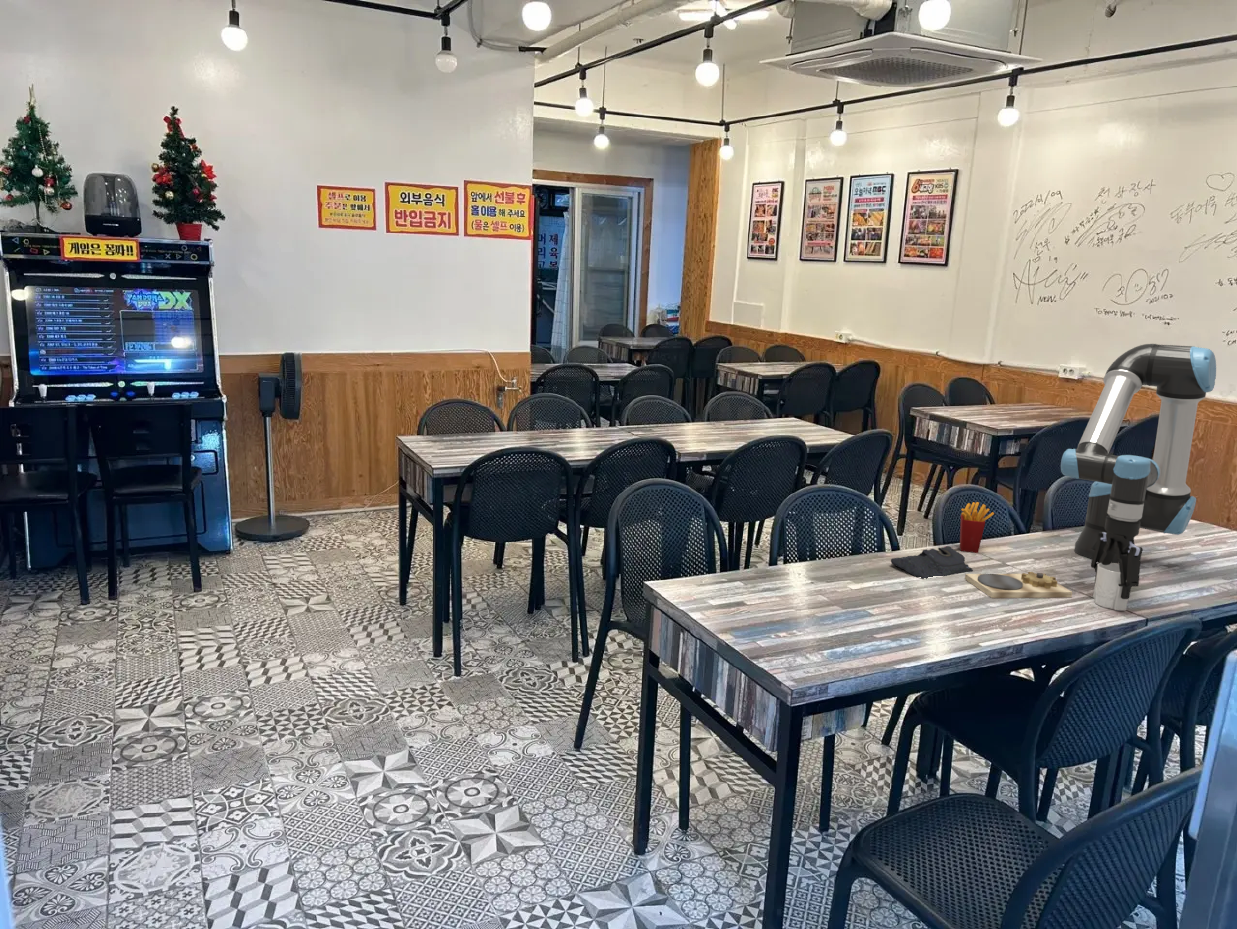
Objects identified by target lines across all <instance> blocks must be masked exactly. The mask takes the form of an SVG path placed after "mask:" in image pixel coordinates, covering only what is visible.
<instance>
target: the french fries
mask: <svg viewBox="0 0 1237 929" xmlns="http://www.w3.org/2000/svg"><path fill="white" fill-rule="evenodd" d="M979 505H980V502H978V501H976V502H975V501H974V502H973V501H972V503H970V502H969V503H967V504H966V505H965V508H961V509H960V510H961V511H962V512H961V515H960V526H959V527H960V528H959V530H960V531H959V532H960V533H959V549H960V551H961V552H964V553H965V552H966V553H972V554H973V553H975V554H979V550H980V546H981V542H982V538H983V533H984V529H985V525H986V520H988V519H989V518H991V517H993V515H995V513H994V512H993V511H992V512H991V513H990V514H988V513H989V512H990V508H986V507H987V505H986V504H984V503H982V505H981V506H980V508H979V510H978V507H979ZM987 514H988V515H987Z"/></svg>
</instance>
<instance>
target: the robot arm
mask: <svg viewBox="0 0 1237 929" xmlns="http://www.w3.org/2000/svg"><path fill="white" fill-rule="evenodd" d="M1216 361H1217V359H1216V356H1215V353H1214V351H1212V350H1211V349H1210V348H1206V347H1199V346H1198V347H1197V346H1195V345H1175V344H1174V345H1173V344H1157V343H1145V344H1140V345H1137V346H1134V347H1132V348H1131V349H1128V350H1127V351H1125V352H1124V353H1122V354H1121V355H1120V356H1118V357H1117V358H1116V359H1115V360H1114V361H1113V362H1112V363H1111V365H1109V367H1108V369H1107V370H1106V373H1105V375H1104V377H1103V384H1104V386H1103V389H1102V391H1101V393H1100V395H1099V397H1098V399H1097V403H1096V405H1095V406H1094V409H1093V411H1092V413H1091V415H1090V417H1089V420H1088V422H1087V425H1086V427H1085V429H1084V430H1083V434H1082V436H1081V438H1080V440H1079V443H1078V445H1077V448H1073V449H1072V448H1067V449H1066V450H1065V451H1064V452H1063V454H1062V456H1061V460H1060V461H1061V462H1060V472H1061V473H1062V475H1063V476H1065V477H1069V478H1073V479H1077V480H1085V481H1090V482H1091V481H1092V482H1093V483H1092V484H1091V486H1090V491H1089V494H1088V502H1087V507H1086V508H1087V509H1086V514H1085V515H1086V516H1085V520H1084V521H1085V522H1084V527H1083V529H1082V530H1081V532H1080V534H1079V536H1078V538H1077V540H1076V541H1075V542H1074V543H1075V544H1074V547H1073V548H1074V552H1075V553H1076V554H1079V555H1080V556H1082V557H1085V558H1089V559H1091V563H1090V567H1091V568H1092V569H1093V570H1094V572H1095V578H1094V588H1093V593H1092V594H1093V595H1092V598H1093V599H1094V598H1095V587H1096V575H1097V566H1098V564H1099V563H1102V564H1103V565H1109V564H1111V563H1118V564H1119V569H1120V572H1121V574H1120V579H1121V584H1118V589H1117V595H1116V601H1115V606H1114V609H1113V610H1115V611H1127V606H1128V600H1129V599H1130V594H1131V589H1132V587H1133V588H1134V587H1139V586H1140V573H1141V572H1140V570H1141V557H1142V553H1143V550H1144V549H1143V547H1142V546H1137V545H1136V544H1135V537H1136V536H1138V535H1139V534H1140V529H1141V530H1142V529H1143V530H1147V531H1148V530H1149V531H1153V532H1158V533H1162V534H1164V535H1165V534H1168V535H1169V534H1170V535H1176V536H1178V535H1182V534H1183V533H1184V532H1185V531H1186V529H1187V527H1188V525H1189V524H1190V521H1191V518H1192V515H1193V514H1194V511H1195V507H1196V504H1197V503H1196V502H1197V498H1196V497H1195V496H1193V495H1191V491H1192V490H1191V487H1190V486H1188V484H1187V483H1186V481H1187V477H1188V469H1189V464H1190V457H1191V449H1192V443H1193V437H1194V431H1195V422H1196V418H1197V412H1198V411H1197V410H1198V405H1199V402H1201V401H1202V400H1204V399H1205V398H1206V397H1207V396H1206V395H1207V393H1211V392H1212V391H1214V389H1215V385H1216V377H1217V362H1216ZM1143 386H1147V387H1155V388H1156V391H1155V392H1156V393H1155V394H1156V396H1157V397H1158V398H1159V399H1160V408H1159V409H1160V410H1159V416H1158V424H1157V430H1156V436H1155V437H1156V438H1155V444H1154V449H1153V450H1154V451H1153V459H1152V458H1149V457H1144V456H1140V455H1139V456H1138V455H1132V454H1122V455H1113V454H1109V453H1110V451H1111V449H1112V446H1113V444H1114V441H1115V440H1116V438H1117V435H1118V432H1119V431H1120V428H1121V425H1122V422H1123V420H1124V418H1125V416H1126V414H1127V410H1128V409H1129V406H1130V404H1131V402H1132V400H1133V397H1134V395H1135V394H1136V393H1138V392H1139V391H1140V390H1141V389H1142V387H1143ZM1126 580H1127V582H1126Z"/></svg>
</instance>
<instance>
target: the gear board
mask: <svg viewBox="0 0 1237 929" xmlns="http://www.w3.org/2000/svg"><path fill="white" fill-rule="evenodd" d="M964 574H965V575H964V580H965V579H966V580H965V581H967V582H968V583H969V584H971V585H973V586H974V588H977V589H978V590H980V591H981V592H983V593H984V594H985V595H987V596H988V597H990V599H991V598H992V599H1017V598H1018V599H1026V598H1027V599H1028V598H1029V599H1037V598H1039V599H1042V598H1045V599H1046V598H1047V599H1050V598H1052V599H1053V598H1055V599H1056V598H1057V599H1058V598H1059V599H1060V598H1069V599H1070V598H1072V596H1073V591H1072V590H1070V589H1068V588H1066V587H1065V586H1063V585H1062V584H1060V583H1058V580H1056V577H1055V576H1050V575H1047V574H1046V573H1045V572H1043V573H1042V572H1036V573H1035V572H1033V571H1028V572H1027V573H1025V572H1022V573H964Z"/></svg>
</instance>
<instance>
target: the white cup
mask: <svg viewBox="0 0 1237 929" xmlns="http://www.w3.org/2000/svg"><path fill="white" fill-rule="evenodd" d="M1120 574H1121V572H1120V569H1119V563H1117V562H1111V564H1109V565H1103V564H1102V563H1099V564H1098V566H1097V575H1096V574H1095V576H1096V587H1095V586H1094V588H1095V598H1093V602H1094V603H1095V604H1096V605H1097V606H1100V607H1102V608H1105V609H1111V610H1114V606H1115V601H1116V595H1117V589H1118V584H1121V579H1120ZM1126 582H1127V580H1126Z"/></svg>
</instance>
